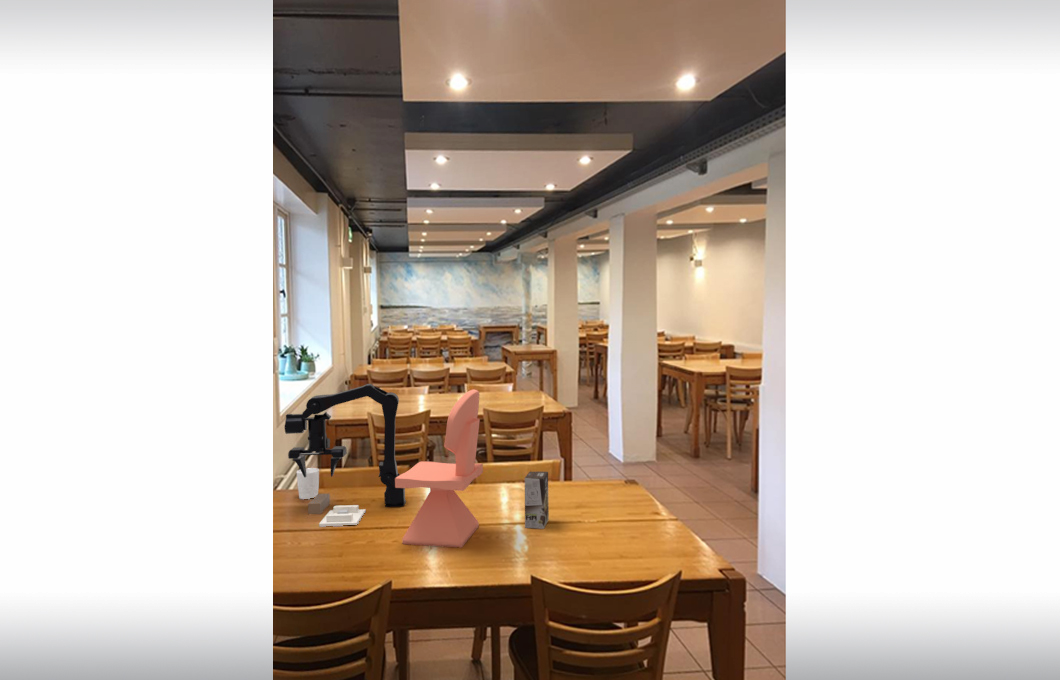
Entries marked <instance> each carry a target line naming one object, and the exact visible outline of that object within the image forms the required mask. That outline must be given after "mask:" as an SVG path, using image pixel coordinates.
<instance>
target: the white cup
mask: <svg viewBox="0 0 1060 680" xmlns="http://www.w3.org/2000/svg"><path fill="white" fill-rule="evenodd" d="M296 482H297V483H296V484H297V492H298V498H299V500H304V499H308V500H311V499H310V498H314V497H316V496H317V495H318V494H319V487H320V486H319V485H320V484H319V483H320V469H319V468H317V467H308V468H307V467H306V477H304V476H303V474H302V472H301V470H300V469H297V470H296Z"/></svg>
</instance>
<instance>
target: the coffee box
mask: <svg viewBox="0 0 1060 680" xmlns="http://www.w3.org/2000/svg"><path fill="white" fill-rule="evenodd" d="M549 512H550V511H549V471H529V472H528V473H527V474H526V476H525V477H524V528H525V529H526V528H527V529H540V530H541V529H542V530H544V529H545V528H546V525H547V523H548V521H549V519H550V518H549V515H550V514H549Z"/></svg>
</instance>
